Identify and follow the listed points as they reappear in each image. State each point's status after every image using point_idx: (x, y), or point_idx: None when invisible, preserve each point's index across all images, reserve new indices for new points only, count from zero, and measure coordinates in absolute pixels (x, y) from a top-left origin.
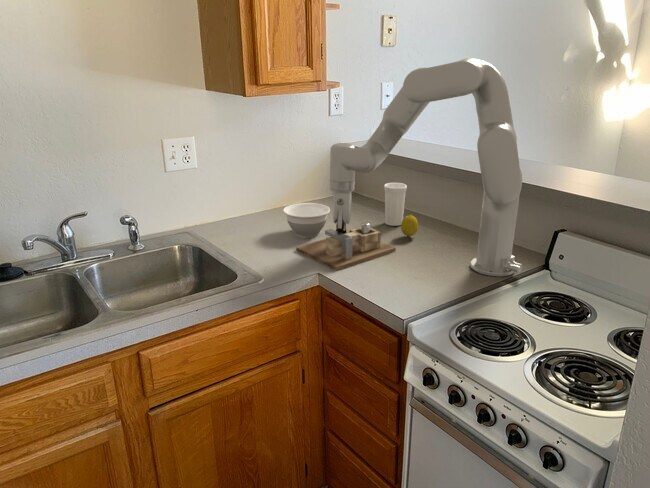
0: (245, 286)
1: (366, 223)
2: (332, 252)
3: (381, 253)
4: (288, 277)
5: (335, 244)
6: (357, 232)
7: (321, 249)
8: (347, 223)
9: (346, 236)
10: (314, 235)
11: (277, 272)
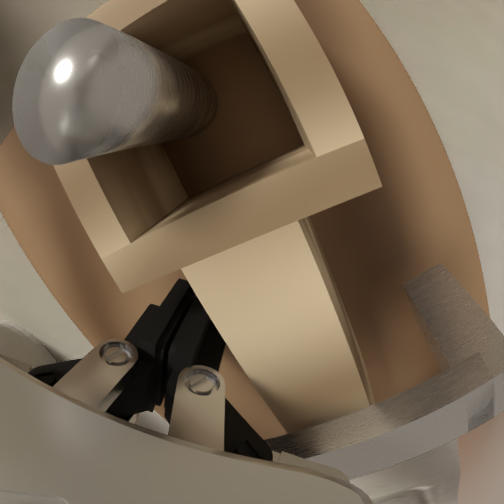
0: (429, 497)
1: (52, 80)
2: (368, 379)
3: (369, 20)
4: (440, 456)
5: (372, 403)
6: (207, 218)
7: (250, 396)
8: (369, 500)
9: (469, 406)
10: (46, 355)
11: (392, 477)
